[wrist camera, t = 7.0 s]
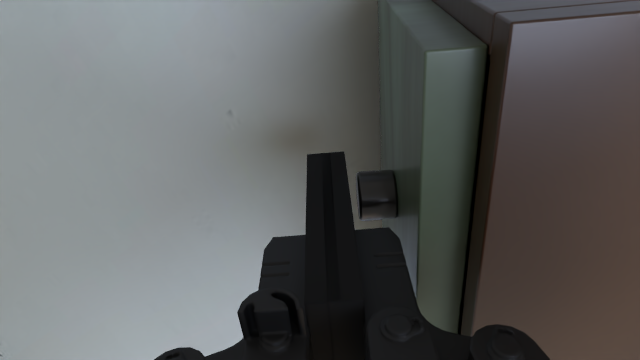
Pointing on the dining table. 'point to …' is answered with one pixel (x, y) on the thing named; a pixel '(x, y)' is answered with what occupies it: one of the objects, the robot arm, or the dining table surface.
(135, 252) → the dining table surface
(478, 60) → the drawer
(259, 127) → the dining table surface
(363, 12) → the dining table surface
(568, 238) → the cabinet
